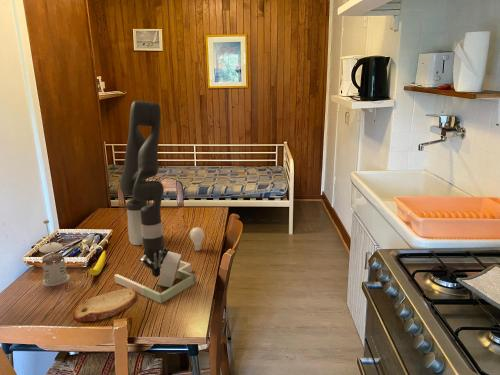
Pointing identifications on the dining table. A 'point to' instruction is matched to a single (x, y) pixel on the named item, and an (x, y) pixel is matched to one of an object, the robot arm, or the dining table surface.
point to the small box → (169, 269)
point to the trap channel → (162, 297)
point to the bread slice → (104, 305)
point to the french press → (53, 272)
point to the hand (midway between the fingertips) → (156, 275)
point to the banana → (98, 265)
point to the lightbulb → (197, 237)
